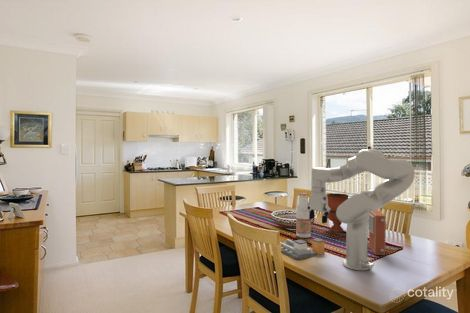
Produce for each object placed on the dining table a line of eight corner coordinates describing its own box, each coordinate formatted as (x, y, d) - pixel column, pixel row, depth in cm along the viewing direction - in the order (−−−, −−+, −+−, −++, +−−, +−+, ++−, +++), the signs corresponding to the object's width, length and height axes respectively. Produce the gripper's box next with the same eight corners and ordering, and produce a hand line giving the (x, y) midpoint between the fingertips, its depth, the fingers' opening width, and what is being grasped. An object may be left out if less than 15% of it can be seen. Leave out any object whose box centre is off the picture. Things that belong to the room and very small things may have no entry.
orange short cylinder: (324, 252, 165) (324, 240, 165) (318, 254, 163) (318, 241, 162) (318, 250, 169) (318, 238, 169) (312, 251, 167) (312, 239, 166)
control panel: (379, 246, 174) (387, 256, 160) (366, 246, 176) (373, 255, 161) (380, 210, 173) (387, 216, 159) (367, 209, 175) (373, 215, 160)
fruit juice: (293, 235, 197) (293, 192, 196) (303, 233, 202) (303, 191, 201) (303, 239, 189) (303, 194, 188) (314, 236, 194) (314, 193, 193)
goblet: (354, 229, 212) (354, 193, 211) (348, 235, 195) (348, 197, 194) (326, 225, 222) (326, 191, 221) (319, 231, 205) (319, 195, 205)
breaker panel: (315, 255, 161) (315, 248, 161) (296, 259, 155) (296, 253, 155) (289, 243, 180) (289, 237, 180) (272, 247, 174) (272, 241, 174)
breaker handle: (306, 251, 161) (306, 241, 161) (299, 253, 159) (299, 243, 159) (300, 249, 166) (300, 239, 165) (293, 250, 163) (293, 240, 163)
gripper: (335, 191, 159) (334, 223, 160) (312, 187, 174) (312, 216, 175) (324, 192, 155) (324, 225, 156) (302, 188, 170) (302, 218, 171)
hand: (318, 220), depth 165 cm, fingers open, 9 cm apart
